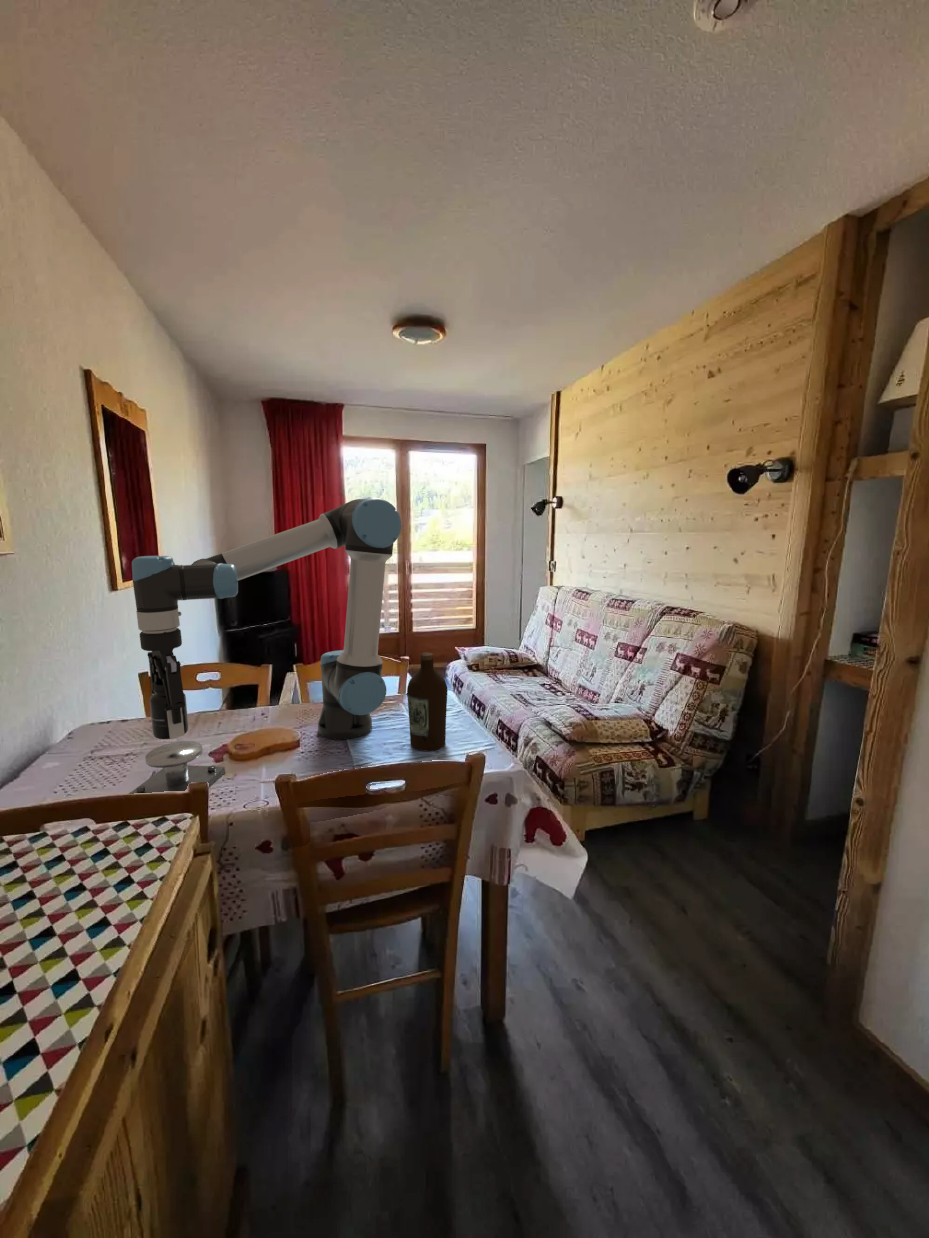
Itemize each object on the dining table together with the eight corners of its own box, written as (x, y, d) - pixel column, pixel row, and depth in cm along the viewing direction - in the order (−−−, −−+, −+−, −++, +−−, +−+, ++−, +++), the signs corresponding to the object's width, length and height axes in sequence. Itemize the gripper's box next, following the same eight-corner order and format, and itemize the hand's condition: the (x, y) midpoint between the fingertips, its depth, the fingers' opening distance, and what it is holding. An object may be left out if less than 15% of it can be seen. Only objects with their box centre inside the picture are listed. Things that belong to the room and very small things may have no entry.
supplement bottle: (150, 742, 106) (144, 688, 104) (155, 730, 113) (149, 678, 110) (187, 737, 109) (182, 684, 107) (190, 725, 115) (185, 675, 113)
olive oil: (425, 732, 143) (424, 646, 138) (455, 741, 137) (455, 652, 132) (399, 745, 134) (397, 655, 129) (430, 756, 128) (429, 662, 123)
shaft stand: (225, 772, 120) (221, 739, 118) (189, 805, 106) (185, 767, 104) (168, 770, 121) (164, 737, 119) (126, 802, 107) (121, 765, 105)
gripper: (195, 634, 102) (206, 739, 107) (165, 620, 116) (175, 714, 120) (154, 640, 97) (166, 751, 101) (127, 625, 110) (139, 723, 115)
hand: (171, 731), depth 111 cm, fingers closed on supplement bottle, 7 cm apart
